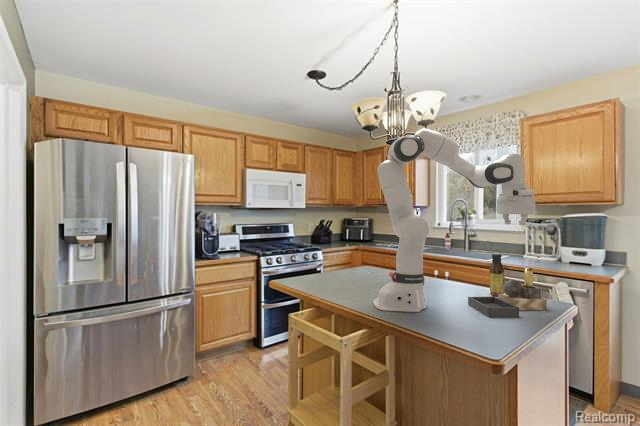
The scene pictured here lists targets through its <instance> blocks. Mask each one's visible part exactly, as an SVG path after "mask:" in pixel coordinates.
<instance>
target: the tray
mask: <svg viewBox="0 0 640 426" xmlns="http://www.w3.org/2000/svg"><path fill="white" fill-rule="evenodd" d="M467 305H468V307H471V308H473V309H474V310H476V311H478V312H479V313H480V314H482V315H484V316H486V317H488V318H519V317H520V310H519V308H518V307H516V306H514V305H512V304H510V303H508V302H505V301H503V300H501V299H499V298H498V296H493V295H492V296H467Z"/></svg>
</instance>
